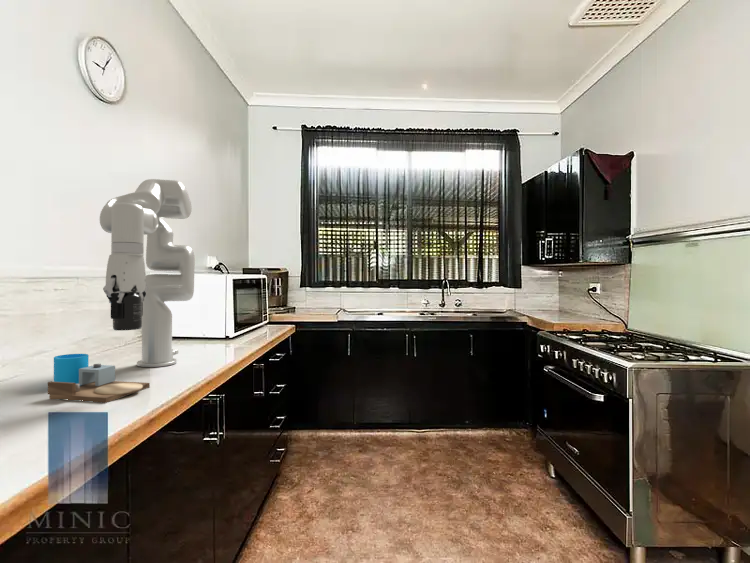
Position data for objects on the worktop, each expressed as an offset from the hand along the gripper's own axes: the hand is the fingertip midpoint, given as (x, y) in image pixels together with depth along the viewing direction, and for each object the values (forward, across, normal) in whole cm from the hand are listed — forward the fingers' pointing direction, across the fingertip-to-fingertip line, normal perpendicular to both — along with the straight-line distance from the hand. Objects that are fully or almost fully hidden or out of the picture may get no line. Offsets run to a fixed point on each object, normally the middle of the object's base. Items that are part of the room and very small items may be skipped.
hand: (127, 317), depth 119 cm
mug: (+20, -7, -22) cm, 31 cm away
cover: (+19, -3, -11) cm, 22 cm away
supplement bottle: (+4, 0, 0) cm, 4 cm away
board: (+20, +1, -6) cm, 21 cm away
